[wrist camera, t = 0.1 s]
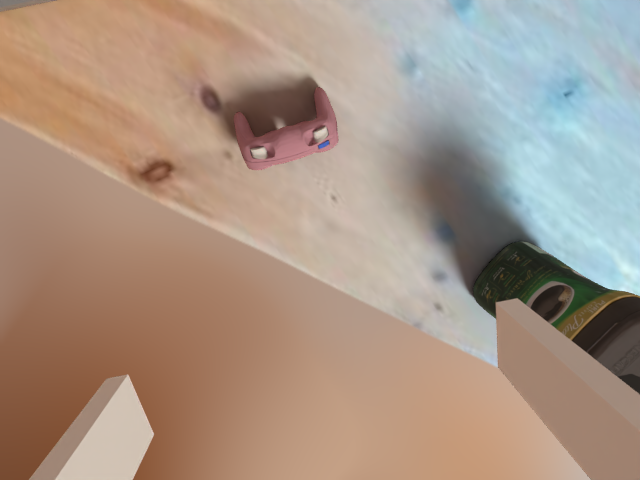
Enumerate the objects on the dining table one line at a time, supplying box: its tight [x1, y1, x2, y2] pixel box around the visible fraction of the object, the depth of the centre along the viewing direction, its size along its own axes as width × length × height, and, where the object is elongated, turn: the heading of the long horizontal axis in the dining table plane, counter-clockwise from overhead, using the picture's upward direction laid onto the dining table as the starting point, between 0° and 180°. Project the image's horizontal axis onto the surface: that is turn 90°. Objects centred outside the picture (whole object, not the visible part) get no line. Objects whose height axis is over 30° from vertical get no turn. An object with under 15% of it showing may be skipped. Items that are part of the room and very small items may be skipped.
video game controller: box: [234, 87, 338, 170], centre depth 34 cm, size 10×5×7 cm, turn 106°
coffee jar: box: [473, 242, 640, 377], centre depth 34 cm, size 10×8×19 cm
